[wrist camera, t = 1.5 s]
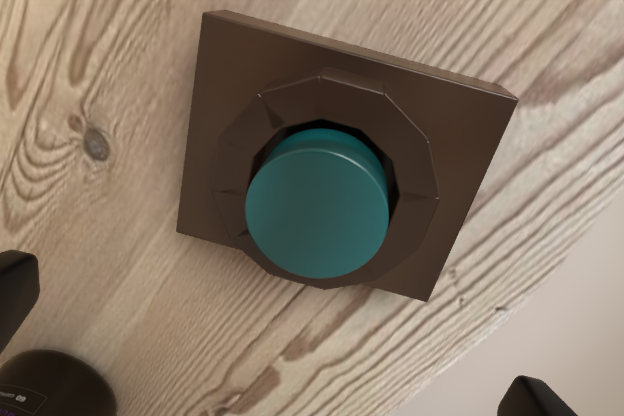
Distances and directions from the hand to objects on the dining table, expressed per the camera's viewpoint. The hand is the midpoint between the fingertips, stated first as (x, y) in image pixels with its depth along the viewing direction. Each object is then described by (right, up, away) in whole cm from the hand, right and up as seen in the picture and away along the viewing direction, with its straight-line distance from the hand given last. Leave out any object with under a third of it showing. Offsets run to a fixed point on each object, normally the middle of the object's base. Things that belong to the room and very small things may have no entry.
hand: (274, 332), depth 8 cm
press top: (+1, +3, +6) cm, 7 cm away
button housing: (+1, +4, +9) cm, 10 cm away
